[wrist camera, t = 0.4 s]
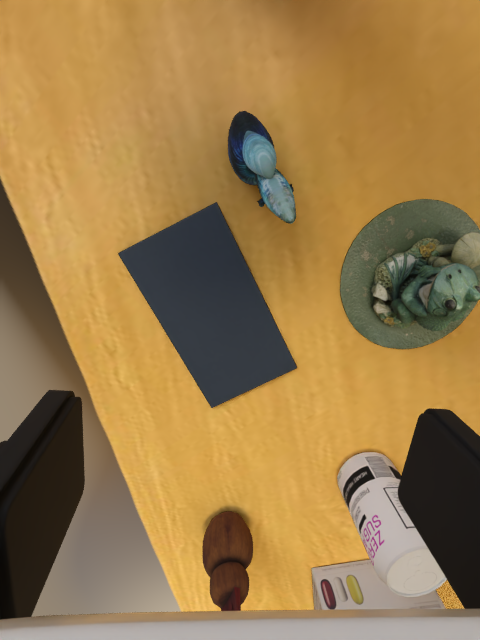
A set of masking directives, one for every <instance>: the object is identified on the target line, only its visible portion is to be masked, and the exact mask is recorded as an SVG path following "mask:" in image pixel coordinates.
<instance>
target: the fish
mask: <svg viewBox="0 0 480 640" xmlns="http://www.w3.org/2000/svg"><path fill="white" fill-rule="evenodd" d="M228 154H229V159H230V163H231V165H232V167H233V169H234V171H235V173H236V174H237V175H238V177H239V178H240V179H241V180H242V181H244V182H245V183H247V184H250V185H257V186H258V189H259V192H260V195H261V197H262V198H261V199H260V200H259V201H257V202H258V203H259V206H260V207H263V206H264V204H266V205H267V207H268V208H269V209H270V210H271V211H272V212H273V213H274V214H275V215H276V216H278V217H279V218H280V219H281V220H283V221H285V222H286V223H290V224H291V223H293V222H294V221H295V219H296V209H295V201H294V195H293V187H292V184H289V183H288V182H287V180H286V179H285V178H284V176H283V175H282V174H281V173H280V172H279V171H278V170H277V169H276V168H275V167H276V152H275V149H274V145H273V141H272V139H271V137H270V135H269V133H268V132H267V130H266V128H265V127H264V126H263V125H262V123H261V122H260V121H259V120H258V119H257V118H256V117H255V116H254V115H252V114H250V113H248V112H246V111H242V112H239V113H237V114H236V115H235V116H234V118H233V120H232V123H231V126H230V129H229V137H228Z"/></svg>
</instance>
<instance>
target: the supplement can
mask: <svg viewBox="0 0 480 640" xmlns="http://www.w3.org/2000/svg"><path fill="white" fill-rule="evenodd" d="M400 479H401V475H400V473H399V472H398V470H397V469H396V467H395V466H394V464H393V463H392V461H391V460H390V459H389V458H387V457H386V456H385V455H383V454H380V453H376V452H363V453H360V454H357V455H354V456H353V457H351V458H350V459H348V460H347V461H346V462H345V464H344V465H343V466H342V467H341V468H340V471H339V474H338V477H337V480H338V487H339V489H340V491H341V493H342V496H343V498H344V500H345V503H346V505H347V507H348V510H349V512H350V514H351V516H352V519H353V521H354V523H355V526H356V528H357V530H358V533H359V535H360V537H361V540H362V542H363V544H364V546H365V549H366V551H367V553H368V556H369V558H370V560H371V563H372V565H373V567H374V569H375V572H376V573H377V575H378V577H379V579H380V580H381V581H383V582H384V583H385V584H386V585H387V586H389V588H390V589H391V591H393V592H394V593H396V594H397V595H401V596H405V597H418V596H422V595H425V594H428V593H430V592H432V591H434V590H436V589H437V588H439V587H440V586H441V585H442V584H443V583H444V582H445V581H446V580H447V578H446V577H445V575H444V574H443V572H442V570H441V569H440V567H439V565H438V564H437V562H436V560H435V559H434V557H433V556H432V554H431V552H430V551H429V549H428V547H427V546H426V544H425V542H424V541H423V539H422V538H421V536H420V534H419V533H418V531H417V529H416V528H415V526H414V525H413V523H412V521H411V520H410V518H409V516H408V515H407V513H406V511H405V510H404V508H403V507H402V505H401V503H400V501H399V498H398V486H399V483H400Z"/></svg>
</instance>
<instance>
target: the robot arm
mask: <svg viewBox="0 0 480 640" xmlns="http://www.w3.org/2000/svg"><path fill="white" fill-rule="evenodd" d="M84 481H85V479H84V451H83V424H82V401H81V398H80V397H75V395H74V392H73V391H59V390H49V391H48V392H47V393H46V394H45V395H44V396H43V397H42V399H41V400H40V401H39V402H38V404H37V405H36V406H35V407H34V409H33V410H32V411H31V412H30V414H29V415H28V416H27V417H26V419H25V420H24V421H23V422H22V423H21V425H20V426H19V427H18V428H17V430H16V431H15V432H14V433H13V434H12V436H11V437H10V438H9V439H8V441H3V442H1V443H0V640H480V436H479V435H477V434H476V433H475V432H474V431H473V430H472V429H471V428H470V427H469V426H468V425H466V424H465V423H464V422H463V421H462V420H461V419H460V418H459V417H458V416H457V415H455V414H454V413H453V412H452V411H450V410H447V409H427V410H426V411H425V412H424V413H422V414H421V415H420V416H419V418H418V421H417V424H416V428H415V431H414V435H413V438H412V441H411V445H410V448H409V452H408V455H407V459H406V462H405V466H404V469H403V473H402V476H401V479H400V483H399V486H398V498H399V501H400V503H401V505H402V507H403V508H404V510H405V511H406V513H407V515H408V516H409V518H410V520H411V521H412V523H413V525H414V526H415V528H416V529H417V531H418V533H419V534H420V536H421V538H422V539H423V541H424V542H425V544H426V546H427V547H428V549H429V551H430V552H431V554H432V556H433V557H434V559H435V560H436V562H437V564H438V565H439V567H440V569H441V570H442V572H443V574H444V575H445V577H446V578H447V580H448V582H449V583H450V585H451V587H452V588H453V590H454V591H455V593H456V595H457V596H458V598H459V600H460V601H461V603H462V605H463V606H464V608H465V609H348V610H259V611H199V612H140V613H109V614H83V615H82V614H80V615H52V616H37V617H31V615H32V613H33V611H34V608H35V606H36V604H37V601H38V599H39V596H40V593H41V592H42V589H43V587H44V585H45V582H46V580H47V578H48V575H49V573H50V570H51V568H52V565H53V563H54V561H55V558H56V556H57V554H58V551H59V549H60V547H61V544H62V542H63V539H64V537H65V535H66V532H67V530H68V528H69V525H70V523H71V520H72V518H73V516H74V513H75V511H76V508H77V506H78V503H79V501H80V499H81V496H82V494H83V490H84Z"/></svg>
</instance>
